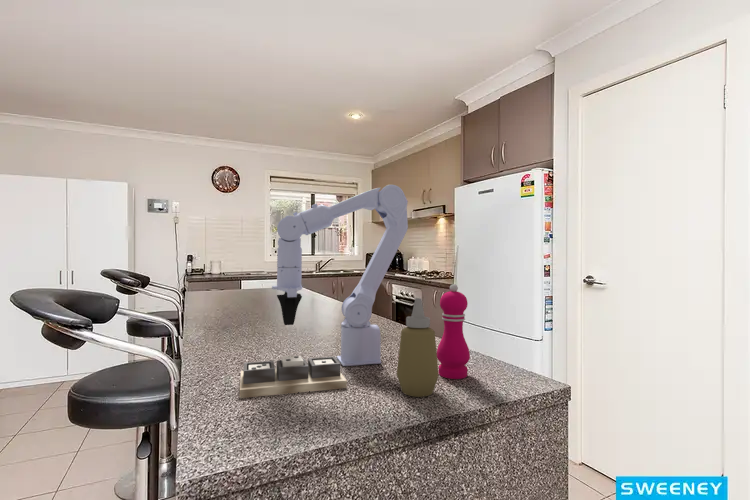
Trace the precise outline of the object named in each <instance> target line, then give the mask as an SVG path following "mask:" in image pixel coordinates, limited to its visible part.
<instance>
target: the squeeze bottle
mask: <svg viewBox="0 0 750 500" xmlns="http://www.w3.org/2000/svg"><path fill="white" fill-rule="evenodd" d="M423 306H424V305H423V301H422V298H420V297H419V298H417V297H416V298H415V299H414V303H413V307H412V312H411V316H409V315H408V316H406V318H405V326H406V327H404V328H402V329H401V332H400V341H399V351H398V358H397V360H398V361H397V368H396V376H397V379H398V382H399V385H400V390H401V392H402V393H403V394H405V396H410V397H415V398H416V397H417V398H423V397H424V398H425V397H428V396H431V395H432V394H433V393H434V390H435V388H436V386H437V385H436V384H437V382H438V378H439V376H440V375H439V365H438V364H439V363H438V359H437V343H436V341H437V340H436V332H435V330H434V329H432V328H430V327H431V317H429V316H426V315H425V310H424V307H423Z"/></svg>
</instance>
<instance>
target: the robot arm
mask: <svg viewBox="0 0 750 500" xmlns="http://www.w3.org/2000/svg"><path fill="white" fill-rule="evenodd" d="M408 202H409V201H408V199H407V197H406V195H405V192H404V191H403V189H402V188H401V187H400V186H399V185H395V184H387V185H385V186H383V188H381V187H376V188H373V189H370V190H367V191H364V192H361V193H358V194H357V195H354V196H352V197H349V198H347V199H345V200H342V201H340V202H338V203H335V204H333V205H331V206H328V205H325V204H322V203H321V204H317V203H314V204H312V205H311V207H310V208H308V209H306V210H303V211H300V212H298V211H295V212H293V215H286V216H285V217H283V218H281V219H280V220H279V222H278V223H277V227H276V230H277V231H276V232H277V235H278V236H279V237H278V240H277V245H278V247H277V254H276V255H277V258H276V260H277V261H276V285H271V289H272V290H276V291H282V292H284V293H283V294H276V297H277V299H278V303H279V304H280V310H281V315H282V321H283V324H284V326H294V324H295V320H296V315H297V310H298V306H299V305H300V302H301V300H302V297H303V296H302V294H301V293H300V292H299V291H301V290H303V285H302V277H303V276H302V275H303V274H302V273H303V272H302V271H303V267H302V264H303V262H302V261H303V259H302V257H303V256H302V255H303V254H302V253H303V249H302V245H301V242H302V240H301V239H302V238H301V237H302V235H305V236H308V235H311V234H314V233H316V232H319V231H322V230H324V229H327V228H330V227H331V226H332V224H333V221H334V220H335V219H337V218H340V217H342V216H346V215H348V214H350V213H353V212H357V211H360V210H363V209H364V210H368V211H373V210H375V211H376V212H377V214H378V215H379V216H380V217H381V219H382V221H383V224H384V226H385V230H384V232H383V234H382V236H381V239H380V241H379V242H378V244H377V246H376V248H375V251H374V252H373V254H372V256H371V258H370V260H369V262H368V264H367V266H366V268H365V270H364V272H363V274H362V275H361V278H360V279H359V282H358V284H357V285H356V286H355V288H354V289H353V290H352V292H351V294H350V295H349V296H348V297H346V298H345V299H344V301H343V302H342V304H341V312H342V313H341V314H342V315H343V316H344V317H345V318H344V319H343V321H342V322H341V323H340V324H341V325H340V326H341V327H340V329H341V330H340V335H341V336H340V355H336V359H337V360H338V361H339V362H340V364H341V365H342V366H343V367H351V366H352V367H353V366H363V365H364V366H365V365H377V364H382V361H381V356H382V355H381V354H382V353H381V346H382V345H381V344H382V343H381V340H382V339H381V338H382V336H381V329H380V327H379V325H378V324H371V321H370V320H371V317H372V315H373V314H372V311H373V310H372V309H373V305H374V302H375V300H376V294H377V292H378V289H379V288H380V285H381V284H382V282H383V280H384V277H385V275H386V273H387V271H388V269H389V268H390V265H391V264H392V261H393V260H394V257H395V256H396V254H397V252H398V250H399V248H400V246H401V244H402V241H403V239H404V238H405V235H406V234H407V232H408V229H409V223H408ZM298 292H299V293H298Z"/></svg>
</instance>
